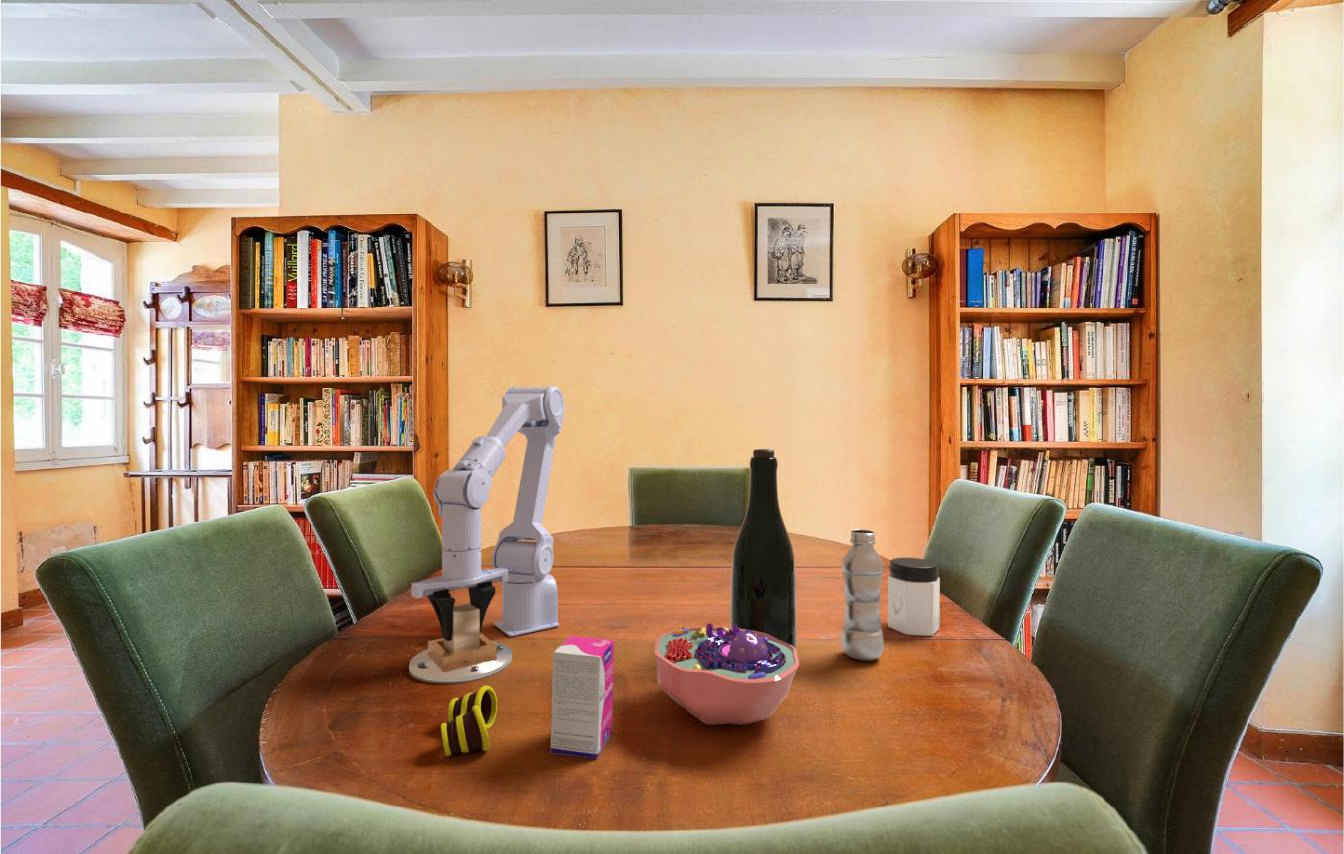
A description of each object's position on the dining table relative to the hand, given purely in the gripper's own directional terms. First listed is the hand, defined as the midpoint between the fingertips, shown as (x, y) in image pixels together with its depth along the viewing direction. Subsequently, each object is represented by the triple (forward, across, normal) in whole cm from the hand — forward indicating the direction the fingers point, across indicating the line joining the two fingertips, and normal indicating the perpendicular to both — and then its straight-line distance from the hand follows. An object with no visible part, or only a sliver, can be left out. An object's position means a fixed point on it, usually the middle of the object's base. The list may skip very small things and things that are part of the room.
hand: (461, 635), depth 94 cm
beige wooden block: (+2, 0, 0) cm, 2 cm away
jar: (+4, -68, +39) cm, 78 cm away
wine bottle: (+4, -37, +29) cm, 47 cm away
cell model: (+4, -18, +38) cm, 42 cm away
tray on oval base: (+4, 0, 0) cm, 4 cm away
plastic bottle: (+4, -48, +40) cm, 63 cm away
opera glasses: (+5, +8, +22) cm, 24 cm away
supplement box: (+4, -1, +32) cm, 33 cm away
